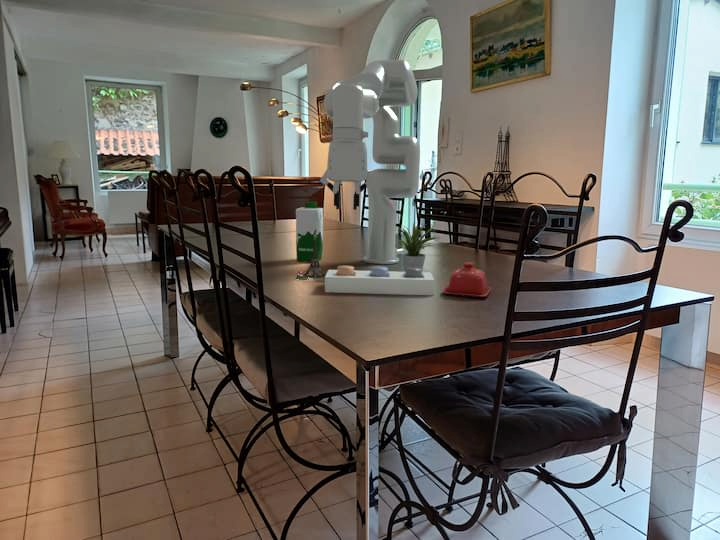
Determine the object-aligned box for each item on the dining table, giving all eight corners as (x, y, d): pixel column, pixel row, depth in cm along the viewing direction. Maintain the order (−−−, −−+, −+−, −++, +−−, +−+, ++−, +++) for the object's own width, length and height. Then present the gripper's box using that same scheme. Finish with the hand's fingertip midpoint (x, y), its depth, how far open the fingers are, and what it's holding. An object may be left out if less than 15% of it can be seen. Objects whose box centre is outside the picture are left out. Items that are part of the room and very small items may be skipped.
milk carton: (324, 259, 183) (325, 202, 179) (318, 263, 174) (318, 203, 171) (300, 257, 185) (300, 201, 181) (293, 262, 176) (293, 202, 172)
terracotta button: (354, 277, 140) (354, 265, 140) (353, 280, 136) (353, 268, 135) (337, 276, 140) (338, 265, 140) (336, 280, 136) (336, 268, 136)
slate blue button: (387, 278, 140) (387, 266, 139) (387, 281, 136) (388, 269, 135) (371, 277, 140) (371, 266, 140) (371, 281, 136) (371, 269, 135)
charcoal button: (420, 279, 140) (421, 267, 139) (422, 282, 136) (422, 270, 135) (404, 278, 140) (405, 267, 139) (405, 282, 136) (405, 270, 135)
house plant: (412, 282, 148) (414, 225, 145) (378, 274, 158) (380, 220, 155) (444, 276, 157) (447, 222, 154) (411, 269, 167) (413, 218, 164)
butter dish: (440, 296, 133) (442, 263, 132) (449, 287, 144) (451, 257, 142) (486, 301, 129) (488, 267, 128) (491, 291, 140) (494, 260, 138)
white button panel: (429, 286, 143) (430, 272, 142) (433, 295, 133) (434, 280, 132) (328, 283, 144) (328, 269, 143) (324, 292, 134) (324, 277, 133)
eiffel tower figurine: (298, 272, 161) (298, 229, 158) (331, 273, 161) (331, 230, 159) (293, 283, 146) (293, 236, 144) (329, 283, 147) (330, 236, 144)
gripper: (380, 138, 135) (378, 208, 138) (316, 136, 135) (316, 207, 139) (380, 136, 127) (378, 211, 131) (313, 134, 128) (312, 209, 131)
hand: (346, 208), depth 135 cm, fingers open, 3 cm apart
